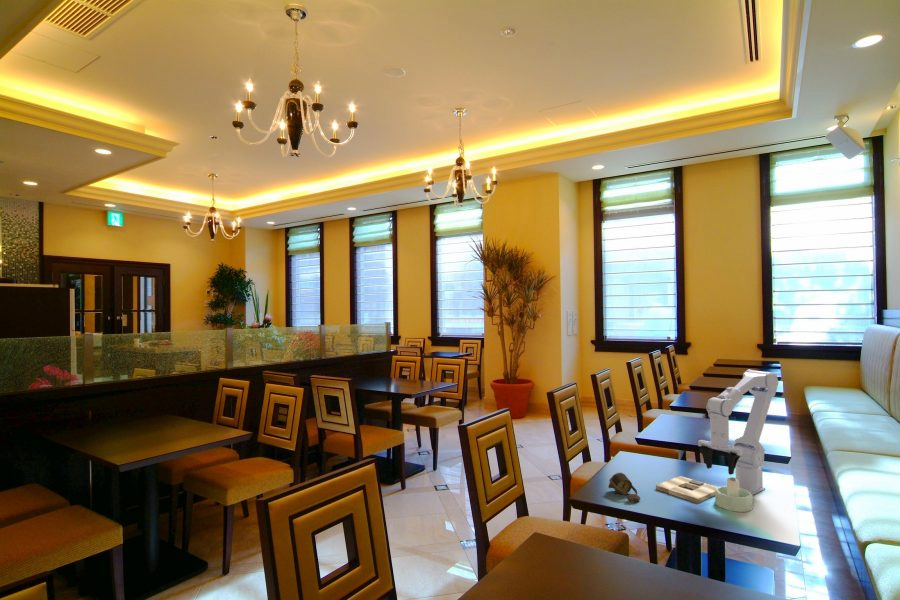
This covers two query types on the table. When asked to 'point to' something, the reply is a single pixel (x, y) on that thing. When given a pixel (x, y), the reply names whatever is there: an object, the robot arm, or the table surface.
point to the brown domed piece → (623, 486)
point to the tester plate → (677, 489)
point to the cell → (733, 487)
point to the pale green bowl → (734, 500)
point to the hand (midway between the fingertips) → (720, 470)
